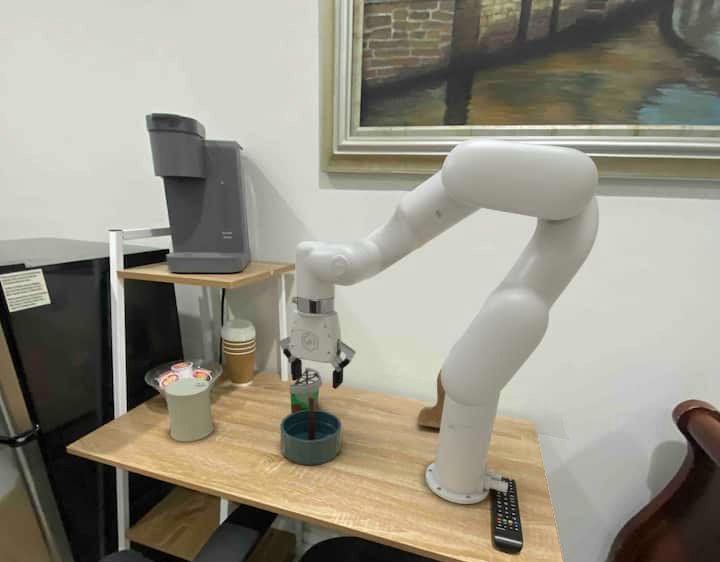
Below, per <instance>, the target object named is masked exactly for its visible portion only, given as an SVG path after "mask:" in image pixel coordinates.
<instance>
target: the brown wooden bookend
mask: <svg viewBox="0 0 720 562" xmlns="http://www.w3.org/2000/svg"><path fill="white" fill-rule="evenodd" d="M441 369H442V367H441V368H440V370H439V372H438V374H437V377H436V394H437V396H436V397H437V399H436V404H435V405H434V406H424V407H423V408H422V409H420V411H419V414H418V417H417V425H418V426H423V427H424V426H425V427H429V428H435V429H440V426H441V419H442V412H443V405H444V399H445V391H444V389H443V386H442V383H441Z"/></svg>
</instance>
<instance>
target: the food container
mask: <svg viewBox="0 0 720 562" xmlns="http://www.w3.org/2000/svg"><path fill="white" fill-rule="evenodd" d="M322 385H323V379H322V376H321V374H320V372H319V371H317V370H316V369H314V368H311V367H306V366H305V367H304V372H302V376H301V377H300V378H298V379H297V380H295V382H294V383H293V384H289V394H290V408H291V410H290V411H291V412H290V413H291V414H292V413H294V412H298V411H302V410H308V397H309V396H310V395H313V396H315V410H318V406H319V395H320V394H319V393H320V388H321V387H322Z"/></svg>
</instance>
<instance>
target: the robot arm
mask: <svg viewBox="0 0 720 562" xmlns="http://www.w3.org/2000/svg"><path fill="white" fill-rule="evenodd" d="M451 149H452V150H450V151H449V153H448V154H447V156H446V157H445V159H444V160H443V161H444V162H443V164H442V166H441V167H442V168H441V169H440V170H439V171H437V172H436V173H435V174H433V175H431V176H430V177H429V178H428V179H426V180H425V181H424V182H422V183H420V184H419V185H418V186H417V187H415V188H413V189H412V190H411V191H410V192H408V193H406V194H405V195H404V196H403V197H401V199H400V200H399V201H398V203H397V204H396V208H395V210H394V213H393V214H392V216H391V217H390V218H389V219H388V220H387V221H385V223H384V224H382V225H381V226H379V227H378V228H377V229H376V230H374V231H372V232H371V233H370V234H369V235H367V236H365V237H364V238H363V239H361V240H359V241H352V242H347V243H340V244H339V243H338V244H332V243H331V242H328V241H323V240H307V241H301V242H299V243H297V245H296V248H295V258H296V259H295V268H296V296H292V298H291V302H292V304H296V309H294V310H293V313H292V317H291V324H290V335H289V336H288V337H285V338H282V339H281V340H279V342H278V343H279V346H280V348H281V349H282V353H283V355H284V356H285V357H286V358H287V362H288V363H289V364H290V374H291V380H292V381H295V382H296V381H297V379H298V378H300V377H301V376H302V374H303V363H302V362H303V361H302V360H304V361H305V360H306V361H311V362H316V363H324V364H331V366H332V368H333V369H334V370H333V371H332V389H334V390H336V389H338V388H339V387H340V386H341V385H342V384H343V383H344V368H346V367H347V366H348V365H349V364H350V363H351V362H352V361H353V359H354V357H355V356H356V353H357V352H356V350H355V349H353V348H352V347H350V346H349V345H348V344H346V343H345V342H343V341H342V332H341V331H342V330H341V324H340V318H339V313H338V311H335V309H336V299H335V298H336V285H337V286H342V287H349V286H354V285H356V284H359V283H362V282H364V281H366V280H369V279H371V278H374V277H375V276H377V275H379V274H380V273H382V272H384V271H385V270H387V269H389V268H390V267H391V266H392V265H395V264H397V262H399V261H401V260H402V259H405V257H407V256H408V255H410V254H412V253H413V252H414V251H416V250H418V249H421V248H422V247H423V246H425V245H426V244H427V243H429V242H430V241H433V240H434V239H435V238H437V237H438V236H441V234H443V233H445V232H446V231H448V230H449V229H451V228H452V227H453V226H456V225H457V224H459V223H460V222H462V221H464V220H465V219H467V218H469V217H470V216H471V215H473V214H475V213H477V212H478V211H480V210H482V209H486V210H490V211H498V212H502V213H509V214H515V215H521V216H527V217H532V218H536V227H535V229H534V232H533V234H532V236H531V238H530V239H529V241H528V243H527V244H526V246H525V247H524V249H523V250H522V252H521V254H520V255H519V257H518V258H517V260H516V261H515V262H514V264H513V265H512V267H510V269H509V271H508V273H506V275H505V276H504V278H503V279H502V280H501V281H500V283H499V284H498V285H497V286H496V287H495V288H494V289H493V290H492V291H491V292H490V294H489V295H488V297H487V298H486V300H485V301H484V303H483V304H482V306H481V308H480V310H479V311H478V312H477V314H476V316H475V317H474V318H473V320H472V321H471V323H470V324H469V326H468V327H467V329H466V330H465V331H464V333H463V334H462V336H460V337H459V338H458V339H457V340H456V341H455V342H454V344H453V345H452V347H451V348H450V350H449V353H448V355H447V356H446V358H445V359H444V361H443V363H442V366H441V368H442V369H441V368H440V370H441V383H442V386H443V389H444V391H445V399H444V405H443V412H442V419H441V426H440V428H439V435H438V440H437V448H436V455H435V461H434V462H431V463H430V464H429V465H428V466H427V467H426V471H425V478H424V479H425V483H426V484H427V486H428V487H429V489H430V490H431V491H432V492H433V493H434V494H435V495H437V496H438V497H440V498H441V499H443V500H446V501H448V502H451V503H455V504H461V505H472V504H477V503H480V502H482V501H484V500H485V499H486V498H487V497H488V496H489V493H490V489H492V490H495V491H497V492H499V493H500V492H501V493H504V494H507V493H508V489H509V482H506V481H503V480H502V479H503V478H502V477H503V475H502V474H499V473H496V472H491V471H490V469H488V462H487V461H488V455H489V452H490V446H491V440H492V436H493V430H494V426H495V421H496V416H497V413H498V407H499V401H500V396H501V392H502V390H504V388H505V387H507V384H508V383H509V382H510V381H511V380H512V379H513V377H514V376H515V375H516V374H517V372H518V371H519V370H520V369H521V368H522V366H524V364H525V363H526V362H527V360H528V359H529V358H530V357H531V355H532V354H533V353H534V352H535V351H536V350H537V348H538V347H539V345H540V344H541V342H542V341H543V339H544V337H545V335H546V333H547V330H548V328H549V324H550V323H549V322H550V311H551V309H552V308H553V306H554V304H555V303H556V302H557V300H558V299H559V298H560V297H561V296H562V294H563V293H564V291H565V290H566V289H567V287H568V286H569V285H570V283H571V282H572V280H573V279H574V277H575V276H576V275H577V274H578V272H579V271H580V269H581V268H582V267H583V266H584V263H585V262H586V260H587V259H588V257H589V256H590V253H591V252H592V249H593V247H594V245H595V242H596V239H597V235H598V231H599V223H600V222H599V221H600V212H599V204H598V199H597V195H596V192H597V189H598V186H599V171H598V167H597V165H596V163H595V162H594V161H593V159H592V158H591V157H590V156H589V155H588V154H586V153H585V152H583V151H581V150H580V149H579V150H578V149H576V148H572V147H567V146H557V145H548V144H540V143H539V144H538V143H529V142H520V141H513V140H512V141H510V140H503V139H495V138H485V137H475V138H470V139H466V140H463V141H462V142H460V143H458V144H457V145H455V147H454V148H451ZM342 353H343V354H344V355H345V358H344V359H343V358H342V357H341V354H342Z"/></svg>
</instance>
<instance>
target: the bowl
mask: <svg viewBox="0 0 720 562" xmlns="http://www.w3.org/2000/svg"><path fill="white" fill-rule="evenodd" d="M342 427H343V425H342V421H341V419H340V418H339V417H338V416H337V415H335V414H333V413H332V412H329V411H326V410H321V409H317V410H315V436H317V437H319V438H320V439H318V440H302V439H303V438H304V437H306V436H308V410H302V411H298V412H294V413H292V412H291V413H289V414H288V415H286V416H285V417H284V418H283V419H282V420H281V422H280V424H279V431H280V452H281V453H282V454H283V456H284V457H285V458H286V459H287V460H288V461H291V462H293V463H295V464H298V465H302V466H303V465H304V466H316V465H321V464H322V465H323V464H324V463H328V462H330V461H332V460H333V459H334V458H336V456H337V455H338V453H339V452H340V451H341V448H342V447H341V446H342V429H343V428H342Z"/></svg>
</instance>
